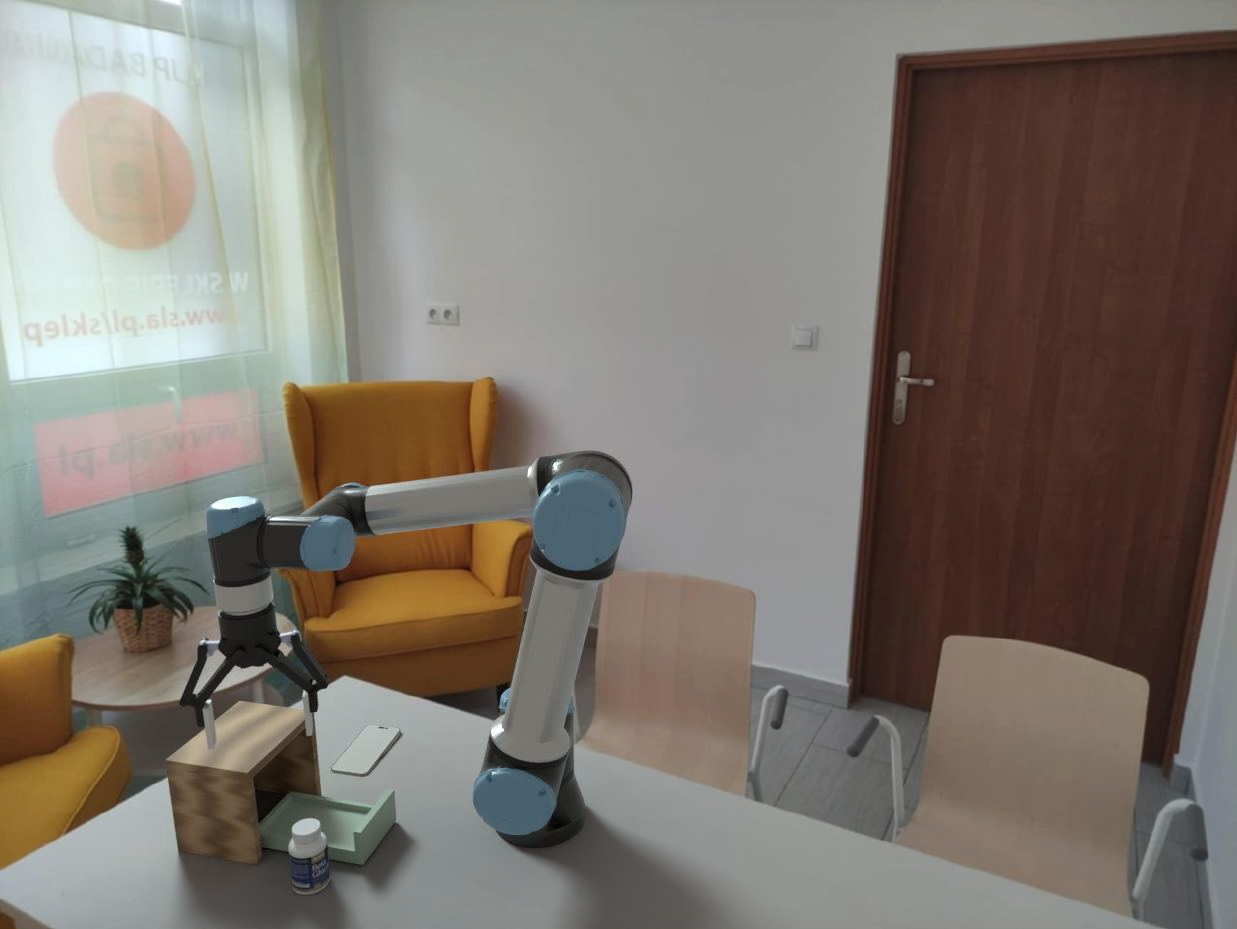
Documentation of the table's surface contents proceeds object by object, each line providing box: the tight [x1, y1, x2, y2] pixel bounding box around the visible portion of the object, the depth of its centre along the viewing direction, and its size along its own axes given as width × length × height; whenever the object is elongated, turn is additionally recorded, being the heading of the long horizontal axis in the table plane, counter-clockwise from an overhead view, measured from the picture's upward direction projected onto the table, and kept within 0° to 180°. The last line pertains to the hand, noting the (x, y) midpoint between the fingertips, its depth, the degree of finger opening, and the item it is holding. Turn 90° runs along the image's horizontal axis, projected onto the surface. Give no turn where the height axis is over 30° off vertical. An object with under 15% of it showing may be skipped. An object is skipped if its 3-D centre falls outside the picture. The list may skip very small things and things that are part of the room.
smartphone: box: [330, 724, 402, 777], centre depth 167 cm, size 7×1×15 cm
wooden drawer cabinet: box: [164, 700, 322, 866], centre depth 145 cm, size 14×18×16 cm
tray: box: [258, 788, 397, 866], centre depth 144 cm, size 19×11×6 cm, turn 77°
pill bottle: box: [288, 818, 331, 896], centre depth 132 cm, size 5×5×10 cm
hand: (261, 737), depth 134 cm, fingers open, 13 cm apart
